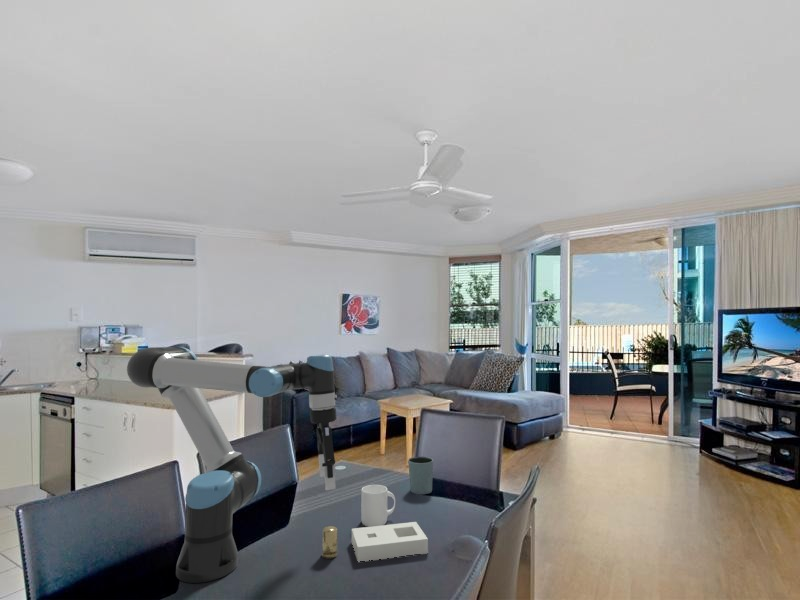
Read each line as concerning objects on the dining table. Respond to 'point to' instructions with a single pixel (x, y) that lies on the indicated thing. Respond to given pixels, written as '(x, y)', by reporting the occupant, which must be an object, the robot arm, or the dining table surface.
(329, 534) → the cylinder
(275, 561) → the dining table surface
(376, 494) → the mug
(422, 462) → the grey-green cup
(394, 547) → the block
